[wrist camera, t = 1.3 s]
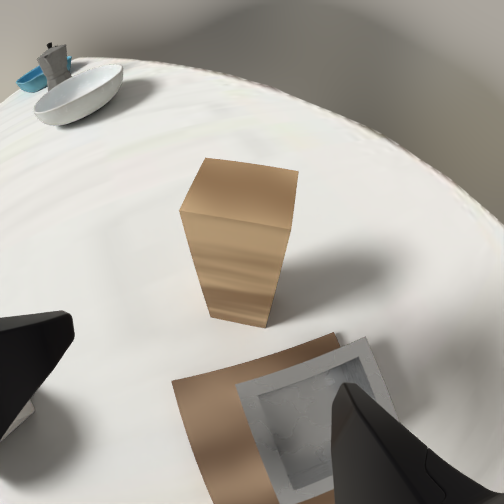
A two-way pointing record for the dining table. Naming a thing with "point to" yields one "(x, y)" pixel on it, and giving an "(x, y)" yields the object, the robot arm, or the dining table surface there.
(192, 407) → the walnut board
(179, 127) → the dining table surface
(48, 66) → the coffeepot
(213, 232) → the oak block
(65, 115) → the serving bowl
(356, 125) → the dining table surface
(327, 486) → the steel end cap
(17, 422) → the grey napkin holder
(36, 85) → the casserole dish
